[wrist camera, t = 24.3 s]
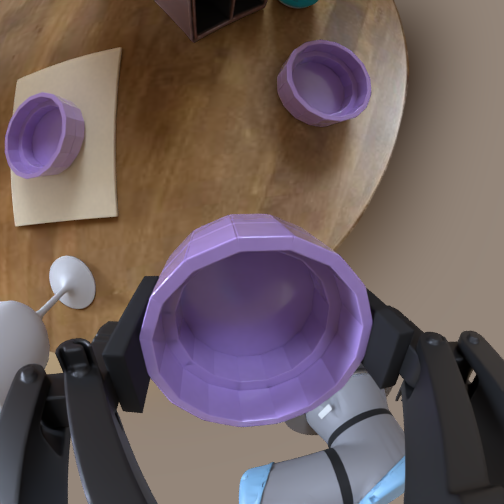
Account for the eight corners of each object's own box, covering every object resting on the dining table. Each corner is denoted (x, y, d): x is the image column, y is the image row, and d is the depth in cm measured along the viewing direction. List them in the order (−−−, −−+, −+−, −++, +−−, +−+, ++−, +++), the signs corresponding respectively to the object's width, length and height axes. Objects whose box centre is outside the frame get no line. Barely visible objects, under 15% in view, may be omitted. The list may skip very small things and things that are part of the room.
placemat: (118, 215, 28) (116, 216, 28) (17, 225, 26) (15, 226, 26) (122, 48, 23) (120, 46, 22) (19, 80, 21) (17, 79, 20)
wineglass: (94, 317, 31) (22, 439, 12) (48, 298, 30) (-40, 396, 10) (100, 265, 30) (-1, 379, 10) (51, 246, 28) (-65, 329, 8)
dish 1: (86, 170, 26) (65, 171, 21) (29, 180, 25) (5, 184, 20) (88, 93, 23) (69, 83, 18) (30, 110, 22) (7, 105, 17)
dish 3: (351, 131, 29) (372, 126, 24) (276, 123, 28) (287, 115, 23) (347, 63, 26) (367, 50, 21) (275, 51, 25) (285, 33, 20)
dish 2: (318, 356, 17) (347, 411, 12) (173, 365, 15) (164, 428, 11) (334, 212, 14) (388, 235, 9) (154, 214, 13) (122, 240, 8)
